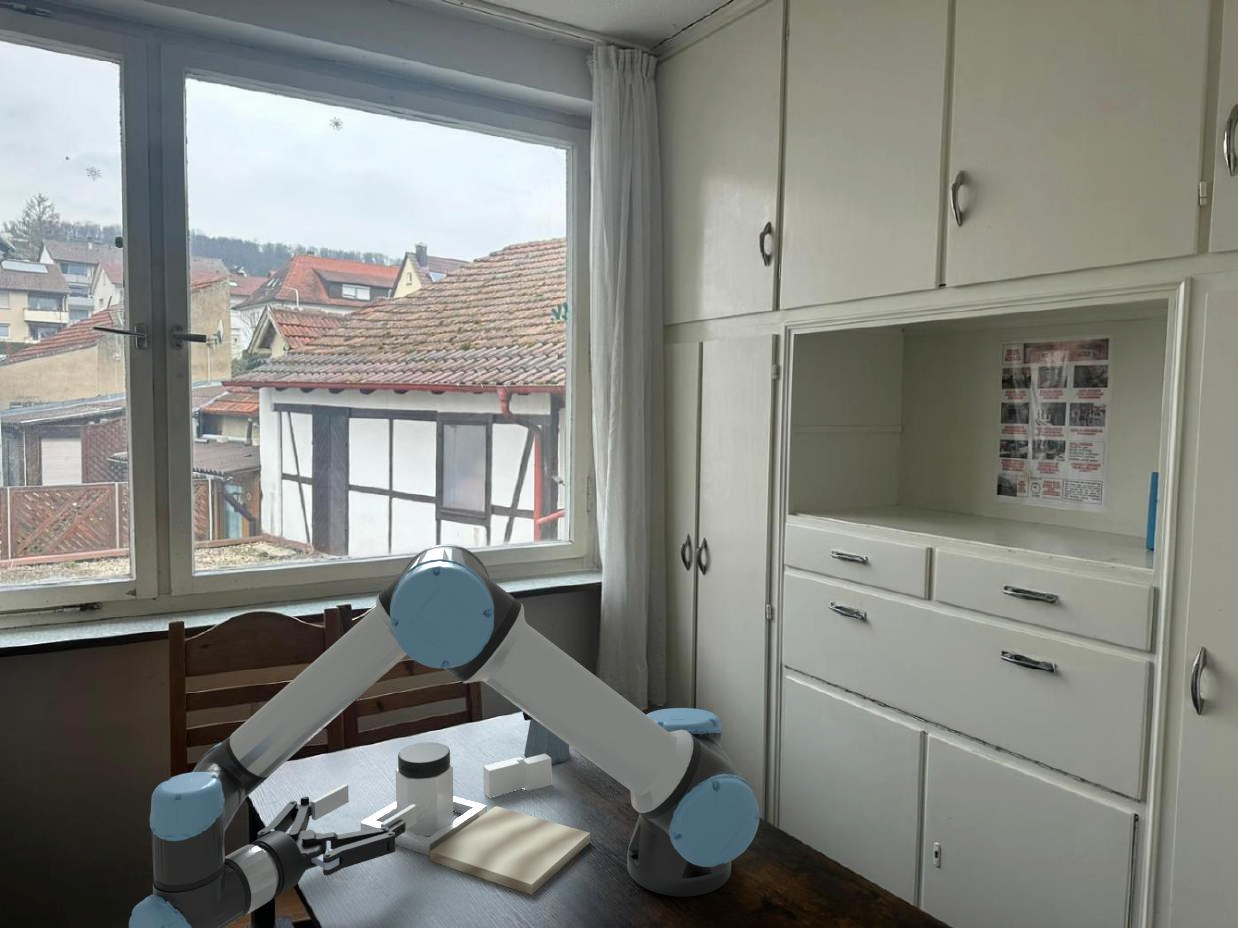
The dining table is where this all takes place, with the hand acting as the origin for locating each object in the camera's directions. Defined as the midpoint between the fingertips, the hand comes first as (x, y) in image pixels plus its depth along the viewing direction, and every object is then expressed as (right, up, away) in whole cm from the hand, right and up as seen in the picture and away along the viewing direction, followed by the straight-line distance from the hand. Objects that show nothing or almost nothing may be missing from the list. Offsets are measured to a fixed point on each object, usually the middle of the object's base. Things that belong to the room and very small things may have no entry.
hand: (380, 802), depth 128 cm
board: (+20, -8, +1) cm, 21 cm away
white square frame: (+5, -7, +9) cm, 12 cm away
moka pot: (+22, -5, +35) cm, 42 cm away
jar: (+5, -7, +9) cm, 13 cm away
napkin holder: (+19, -7, +22) cm, 29 cm away
